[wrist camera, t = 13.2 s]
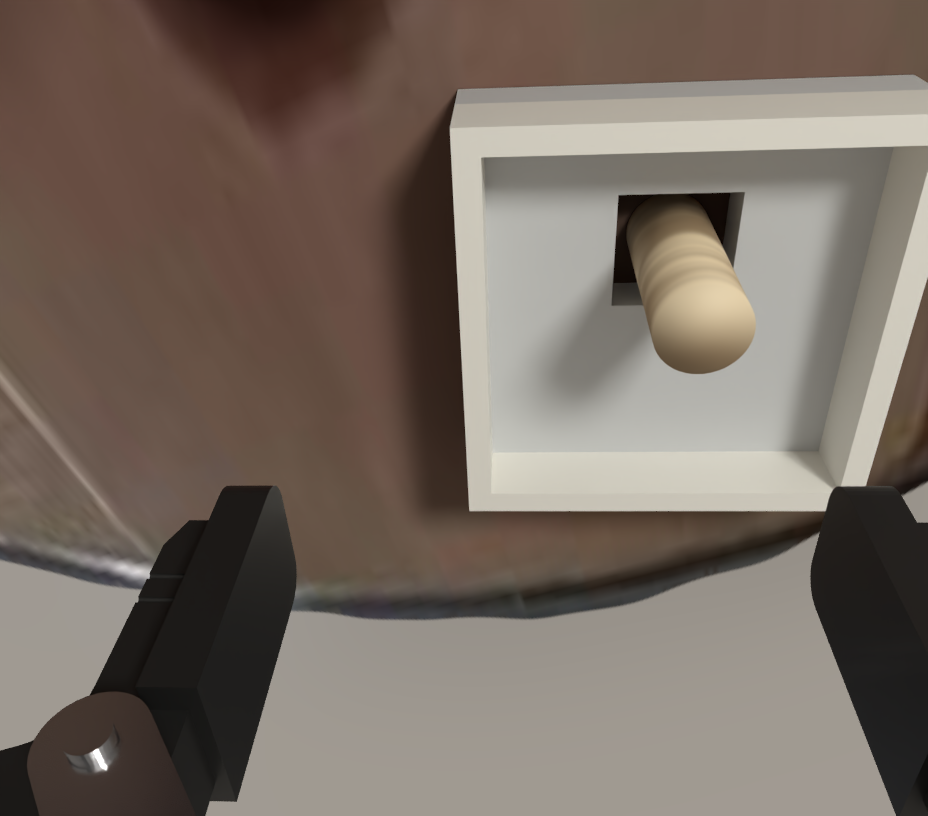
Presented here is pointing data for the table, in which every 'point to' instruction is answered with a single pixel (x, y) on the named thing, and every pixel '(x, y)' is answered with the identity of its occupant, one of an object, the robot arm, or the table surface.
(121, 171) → the table surface
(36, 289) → the table surface
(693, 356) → the peg
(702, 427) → the tray
